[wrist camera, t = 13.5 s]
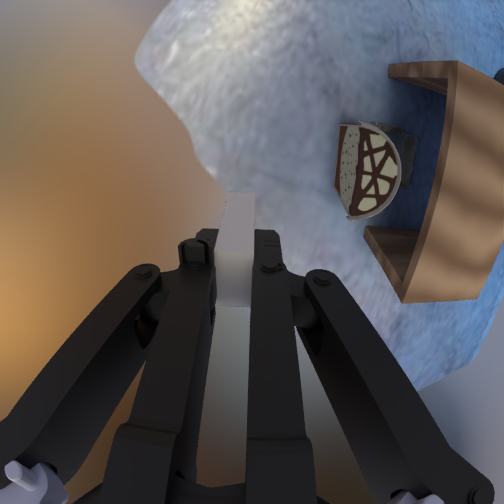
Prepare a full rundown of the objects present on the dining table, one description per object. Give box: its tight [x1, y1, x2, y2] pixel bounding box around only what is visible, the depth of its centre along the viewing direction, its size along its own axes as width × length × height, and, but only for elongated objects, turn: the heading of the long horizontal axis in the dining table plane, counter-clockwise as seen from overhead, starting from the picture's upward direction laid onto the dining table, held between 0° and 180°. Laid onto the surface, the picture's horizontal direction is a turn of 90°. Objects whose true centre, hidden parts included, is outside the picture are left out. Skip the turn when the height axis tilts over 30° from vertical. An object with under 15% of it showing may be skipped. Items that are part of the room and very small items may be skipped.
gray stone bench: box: [371, 121, 418, 189], centre depth 37 cm, size 10×6×3 cm
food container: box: [333, 120, 401, 221], centre depth 34 cm, size 12×6×10 cm, turn 179°
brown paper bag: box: [364, 61, 504, 304], centre depth 31 cm, size 28×14×16 cm, turn 178°
